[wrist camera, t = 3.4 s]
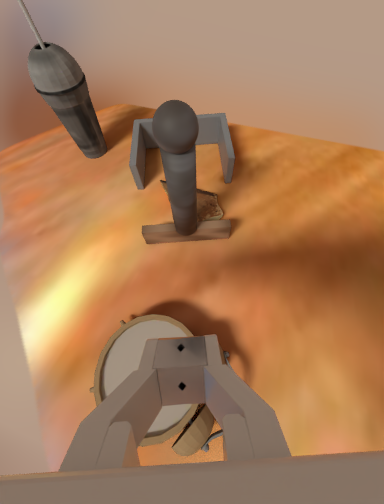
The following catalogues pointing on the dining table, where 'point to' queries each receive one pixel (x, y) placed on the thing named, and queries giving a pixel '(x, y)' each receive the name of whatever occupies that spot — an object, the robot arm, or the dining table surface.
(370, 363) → the dining table surface
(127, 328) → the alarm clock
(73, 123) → the beverage cup
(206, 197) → the shard
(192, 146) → the ball-topped joystick
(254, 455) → the robot arm
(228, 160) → the box
